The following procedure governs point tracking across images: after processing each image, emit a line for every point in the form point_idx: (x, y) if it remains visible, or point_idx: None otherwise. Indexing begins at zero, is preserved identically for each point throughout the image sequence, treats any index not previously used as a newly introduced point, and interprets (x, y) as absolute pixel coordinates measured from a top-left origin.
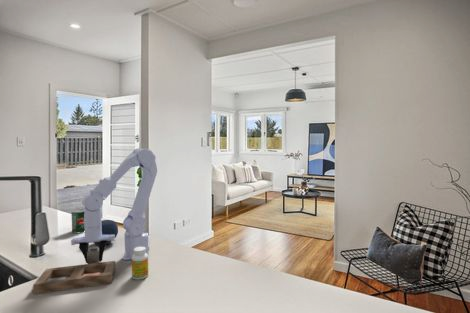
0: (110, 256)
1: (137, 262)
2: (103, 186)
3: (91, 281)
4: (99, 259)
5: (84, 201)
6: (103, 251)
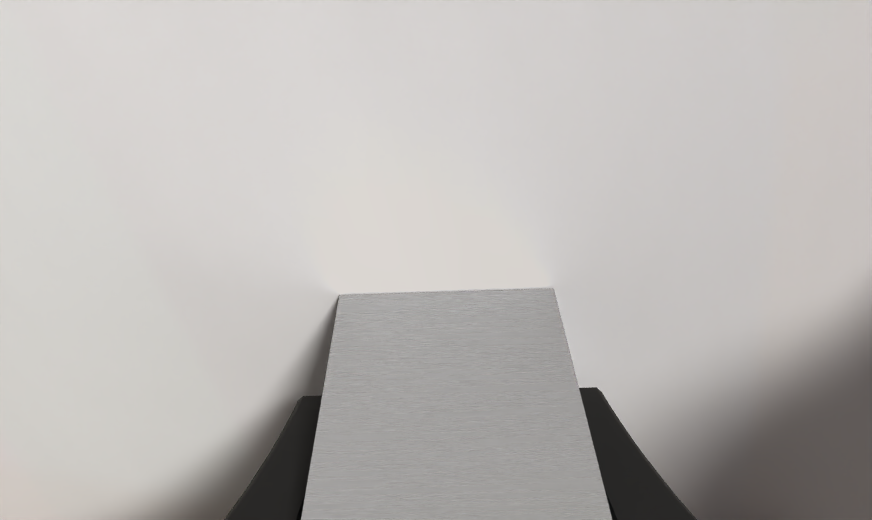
0: (747, 8)
1: None
2: None
3: None
4: None
5: None
6: (671, 511)
